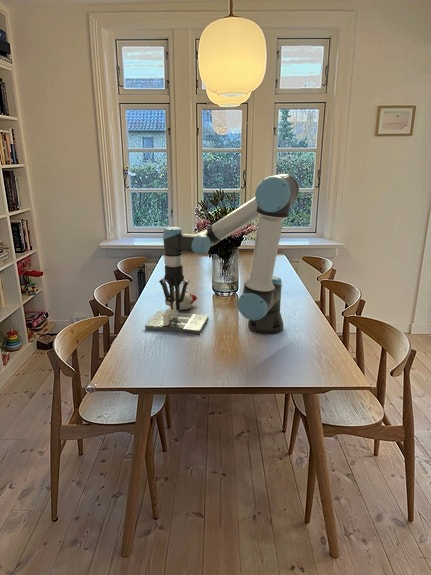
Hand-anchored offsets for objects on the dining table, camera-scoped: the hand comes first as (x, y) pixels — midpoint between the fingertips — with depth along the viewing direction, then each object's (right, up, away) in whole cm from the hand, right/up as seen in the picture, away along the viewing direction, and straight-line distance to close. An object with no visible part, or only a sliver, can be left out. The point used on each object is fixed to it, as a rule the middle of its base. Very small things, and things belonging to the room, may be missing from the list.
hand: (175, 316), depth 174 cm
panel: (+1, -4, +1) cm, 4 cm away
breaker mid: (-3, -1, +1) cm, 3 cm away
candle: (+2, +2, +19) cm, 19 cm away
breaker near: (-3, -3, -5) cm, 7 cm away
